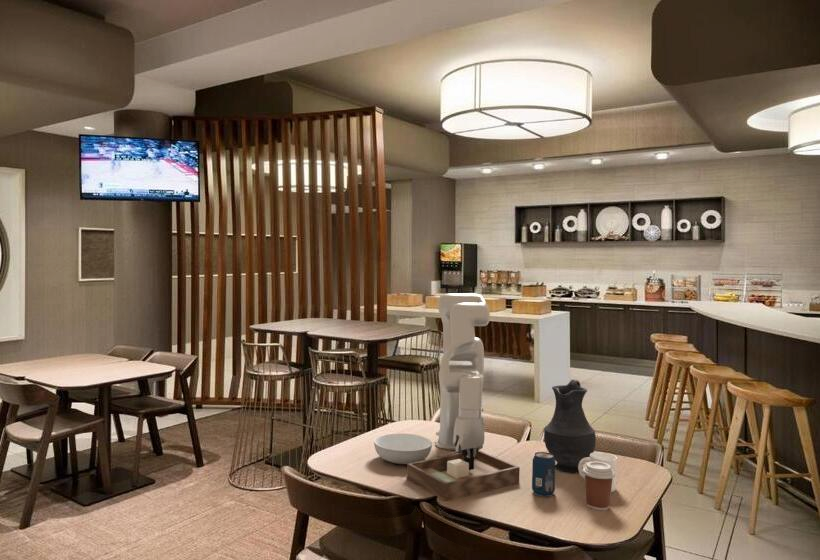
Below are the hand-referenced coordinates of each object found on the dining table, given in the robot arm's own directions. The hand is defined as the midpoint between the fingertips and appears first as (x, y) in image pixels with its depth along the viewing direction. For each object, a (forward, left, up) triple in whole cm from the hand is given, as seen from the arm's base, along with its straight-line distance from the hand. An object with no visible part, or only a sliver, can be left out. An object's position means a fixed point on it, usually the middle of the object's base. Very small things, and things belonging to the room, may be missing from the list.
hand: (468, 468), depth 189 cm
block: (0, -5, -1) cm, 5 cm away
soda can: (+21, +13, -4) cm, 25 cm away
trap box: (0, -2, -4) cm, 4 cm away
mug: (+26, +32, -4) cm, 41 cm away
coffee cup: (+36, +20, -4) cm, 41 cm away
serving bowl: (-27, -8, -4) cm, 29 cm away
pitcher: (+9, +39, -4) cm, 40 cm away
